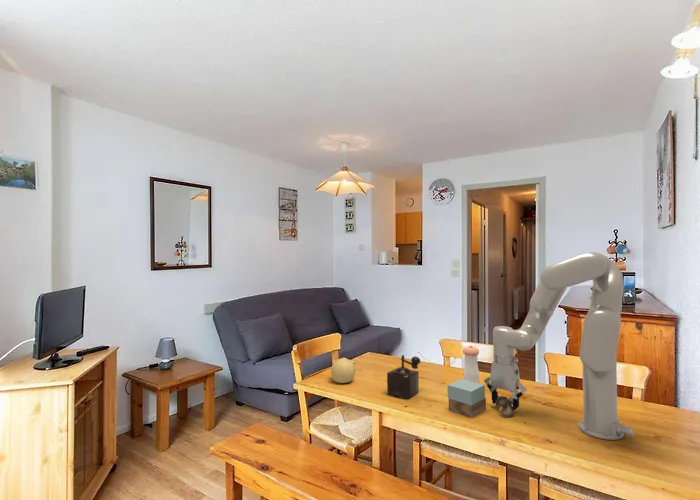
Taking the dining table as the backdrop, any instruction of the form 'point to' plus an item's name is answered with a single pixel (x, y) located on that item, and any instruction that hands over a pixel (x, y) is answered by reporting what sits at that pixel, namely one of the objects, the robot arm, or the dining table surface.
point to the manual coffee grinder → (404, 380)
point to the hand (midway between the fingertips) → (505, 405)
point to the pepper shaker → (471, 364)
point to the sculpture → (343, 370)
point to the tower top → (466, 391)
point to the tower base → (467, 407)
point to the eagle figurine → (505, 406)
